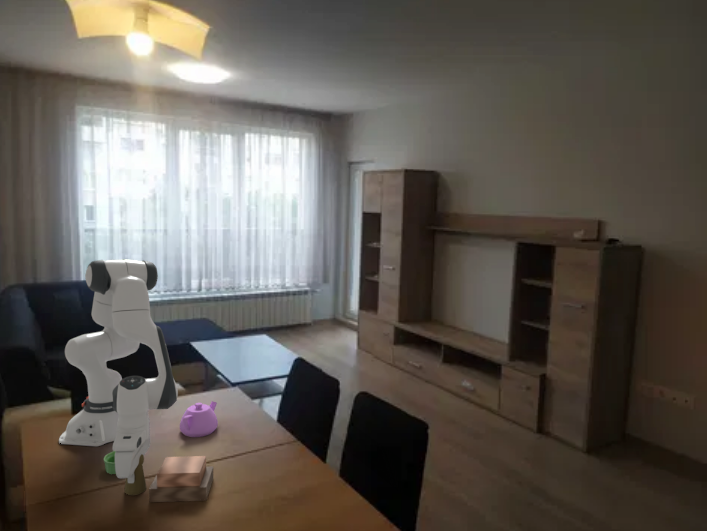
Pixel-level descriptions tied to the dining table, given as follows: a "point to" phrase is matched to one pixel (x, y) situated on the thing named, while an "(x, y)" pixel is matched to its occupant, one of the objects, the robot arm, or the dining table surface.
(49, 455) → the dining table surface
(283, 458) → the dining table surface
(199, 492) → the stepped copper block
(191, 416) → the teapot
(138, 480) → the cork
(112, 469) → the ramekin
